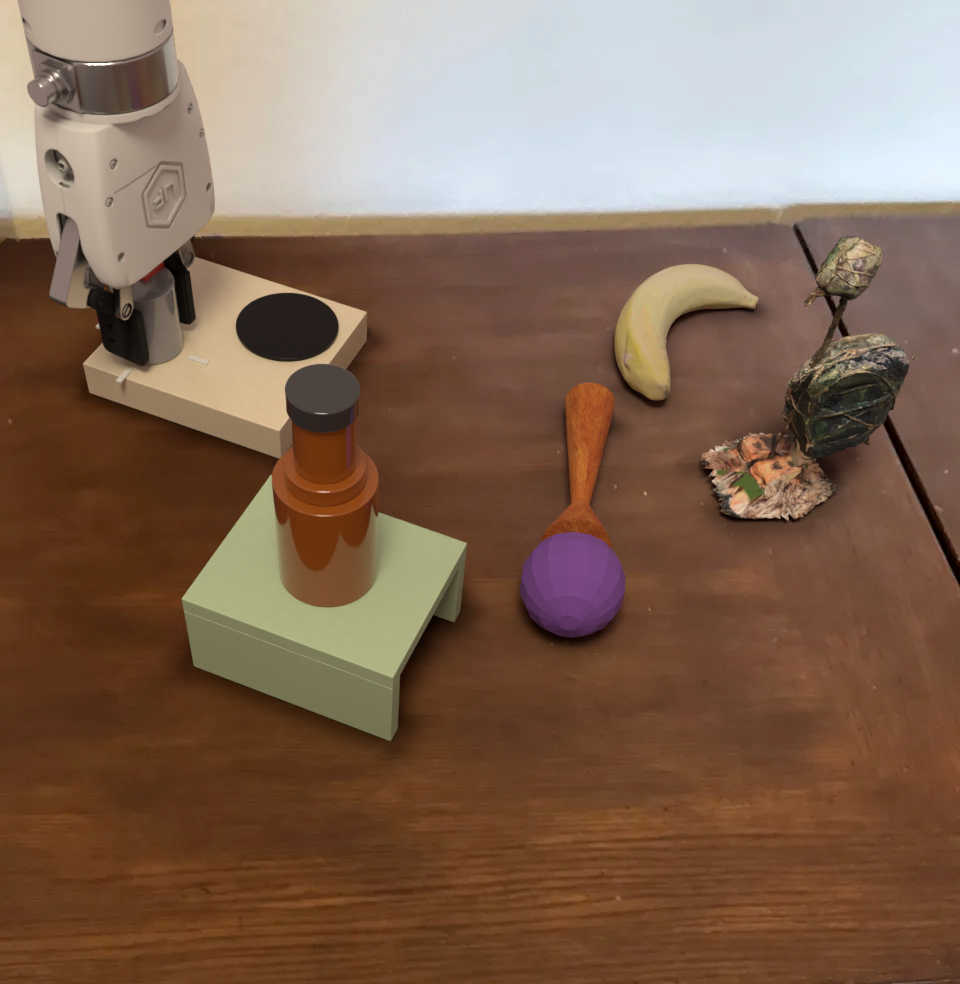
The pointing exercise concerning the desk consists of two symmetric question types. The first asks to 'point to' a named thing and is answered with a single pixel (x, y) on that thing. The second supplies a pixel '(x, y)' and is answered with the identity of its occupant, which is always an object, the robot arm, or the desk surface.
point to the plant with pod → (816, 405)
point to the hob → (222, 366)
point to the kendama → (577, 534)
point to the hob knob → (159, 314)
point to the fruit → (668, 320)
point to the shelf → (321, 619)
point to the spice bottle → (325, 492)
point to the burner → (287, 327)
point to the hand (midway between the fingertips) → (150, 333)
